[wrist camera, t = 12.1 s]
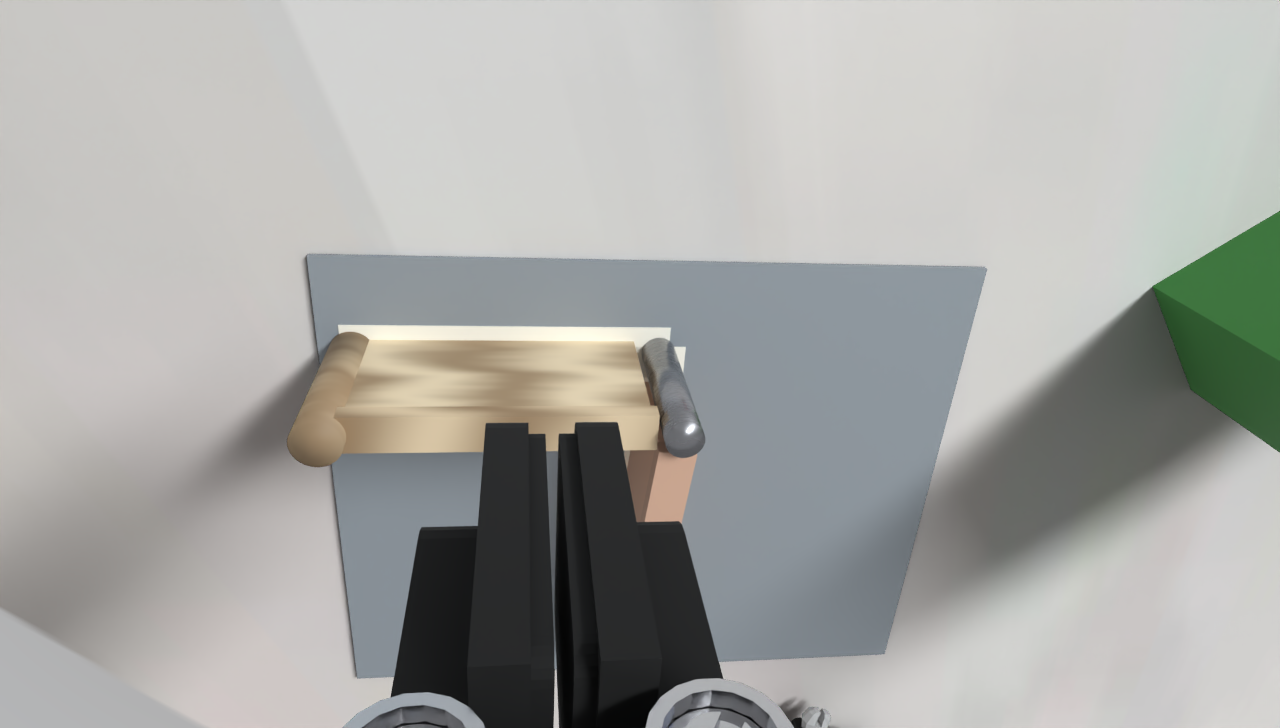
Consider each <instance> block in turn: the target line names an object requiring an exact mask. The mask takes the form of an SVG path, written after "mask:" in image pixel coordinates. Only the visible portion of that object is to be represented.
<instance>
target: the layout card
mask: <svg viewBox="0 0 1280 728" xmlns="http://www.w3.org/2000/svg"><path fill="white" fill-rule="evenodd" d="M307 264H308V272H309V281H310V289H311V297H312V305H313V314H314V322H315V330H316V339H317V347H318V355H319V364H320V365H321V363H322V361H323V358H324V356H325V354H326V352H327V350H328V347H329V345H330V343H331V341H332V339H333V338H334V337H335V336H336V335H338V334H341V333H343V332H357V333H360V334H362V335H364V336H366V337H367V338H368V339H369V340H491V341H634V344H635V347H636V351H637V355H638V359H639V363H640V367H641V371H642V374H643V378H644V381H645V382H648V378H647V374H646V370H645V367H644V363H643V359H642V349H643V347H644V345H645V344H646V343H647V342H648V341H650V340H651V339H654V338H665V339H667V340H669V341H671V343H672V344H673V346H674V348H675V351H676V354H677V357H678V360H679V363H680V365H681V368H682V371H683V374H684V377H685V380H686V383H687V385H688V388H689V391H690V394H691V397H692V400H693V403H694V405H695V408H696V411H697V414H698V417H699V420H700V423H701V426H702V428H703V431H704V434H705V444H704V446H703V448H702V449H701V451H700V452H699V453H697V459H696V463H695V468H694V472H693V476H692V481H691V485H690V489H689V494H688V498H687V502H686V507H685V511H684V515H683V519H682V526H683V529H684V532H685V535H686V539H687V543H688V546H689V550H690V554H691V558H692V562H693V566H694V569H695V573H696V577H697V581H698V585H699V588H700V592H701V596H702V600H703V604H704V608H705V611H706V615H707V619H708V623H709V627H710V630H711V634H712V638H713V642H714V646H715V650H716V653H717V657H718V661H719V662H726V661H748V660H770V659H792V658H813V657H835V656H857V655H878V654H885V650H886V646H887V642H888V639H889V635H890V631H891V627H892V624H893V620H894V616H895V612H896V609H897V605H898V601H899V597H900V594H901V590H902V586H903V582H904V579H905V575H906V571H907V567H908V564H909V560H910V556H911V552H912V549H913V545H914V541H915V537H916V534H917V530H918V526H919V522H920V519H921V515H922V511H923V507H924V504H925V500H926V496H927V492H928V489H929V485H930V481H931V477H932V474H933V470H934V466H935V462H936V459H937V455H938V451H939V447H940V444H941V440H942V436H943V432H944V429H945V425H946V421H947V417H948V414H949V410H950V406H951V402H952V399H953V395H954V391H955V387H956V384H957V380H958V376H959V372H960V369H961V365H962V361H963V357H964V354H965V350H966V346H967V342H968V339H969V335H970V331H971V327H972V324H973V320H974V316H975V312H976V309H977V305H978V301H979V297H980V294H981V290H982V286H983V283H984V279H985V275H986V271H987V269H986V268H985V267H964V266H912V265H860V264H808V263H755V262H703V261H651V260H599V259H547V258H495V257H442V256H390V255H338V254H308V255H307ZM623 452H624V457H625V462H626V468H627V466H628V461H629V456H630V450H623ZM546 458H547V482H548V506H549V530H550V554H551V578H552V602H553V626H554V665H555V669H557V663H556V641H555V614H554V592H555V552H556V512H557V472H558V451H546ZM482 464H483V452H438V453H350V454H341V456H340V457H339V459H338V460H337V461H335V462H334V463H332V472H333V480H334V488H335V497H336V505H337V513H338V522H339V530H340V538H341V547H342V555H343V563H344V572H345V580H346V588H347V596H348V605H349V613H350V621H351V630H352V638H353V646H354V655H355V663H356V671H357V678H379V677H394V675H395V669H396V663H397V657H398V652H399V646H400V640H401V634H402V628H403V622H404V617H405V611H406V605H407V599H408V593H409V587H410V581H411V576H412V570H413V564H414V558H415V552H416V546H417V541H418V536H419V531H420V529H421V527H448V526H478V516H479V503H480V490H481V477H482Z"/></svg>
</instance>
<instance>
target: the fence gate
mask: <svg viewBox="0 0 1280 728" xmlns="http://www.w3.org/2000/svg"><path fill="white" fill-rule="evenodd" d="M644 382H645V381H644ZM645 386H646V390H647V394H648V398H649V401H650V405H651V406H655V404H654V400H653V397H652V393H651V389H650V385H649V382H645ZM696 459H697V454H696V455H694V456H692V457H688V458H679V457H675V456H673V455H672V454H670V453H669V452H668V450H667V448H666V445H665V441H664V438H663V434H662V430H661V426H660V423H659V430H658V442H657V450H630V456H629V461H628V466H627V473H628V478H629V484H630V489H631V494H632V500H633V505H634V510H635V516H636V521H637V522H665V521H679V522H680V523H681V524H682V519H683V515H684V511H685V507H686V502H687V498H688V494H689V489H690V485H691V481H692V476H693V472H694V468H695V463H696Z"/></svg>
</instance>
